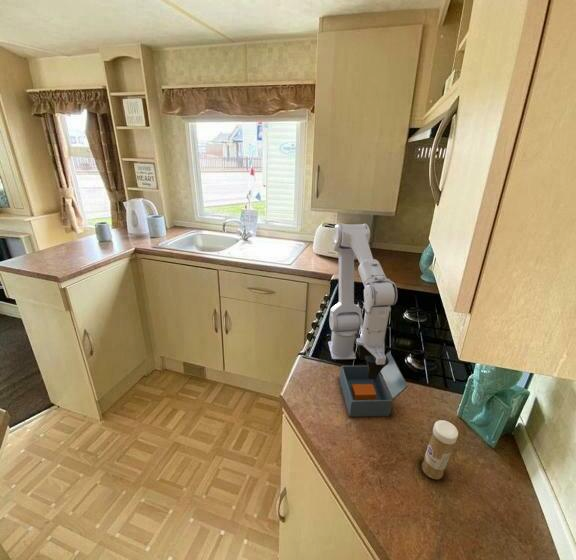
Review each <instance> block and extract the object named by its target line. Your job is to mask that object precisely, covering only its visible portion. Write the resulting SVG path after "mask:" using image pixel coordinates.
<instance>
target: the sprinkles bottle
mask: <svg viewBox="0 0 576 560" xmlns="http://www.w3.org/2000/svg"><path fill="white" fill-rule="evenodd" d="M458 437H459V431H458V429H457V427H456V426H455V425H454V424H453V423H451V422H449V421H447V420H443V419H440V420H437V421H435V423H434V425H433V428H432V434H431V437H430V440H429V443H428V445H427V447H426V448H427V449H426V451H425V453H424V458H423V460H422V462H421V469H422V472H423V473H424V475H426V476H427V477H428V478H430V479H432V480H440V479H442V478H443V476H444V472H445V469H446V467H447V465H448V463H449V459H450V456H451V454H452V451H453V448H454V445H455V443H456V442H457V440H458Z"/></svg>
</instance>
